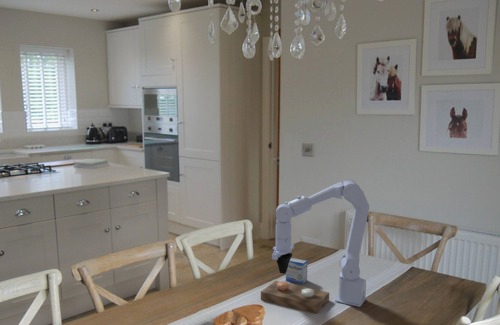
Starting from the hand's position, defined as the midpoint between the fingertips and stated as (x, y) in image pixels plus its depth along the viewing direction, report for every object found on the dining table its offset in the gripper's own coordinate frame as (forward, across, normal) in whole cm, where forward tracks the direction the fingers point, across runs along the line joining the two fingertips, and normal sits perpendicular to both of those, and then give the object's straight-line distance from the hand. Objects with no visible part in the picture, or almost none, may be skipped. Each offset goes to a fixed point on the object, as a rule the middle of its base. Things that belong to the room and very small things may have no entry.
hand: (283, 272), depth 162 cm
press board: (+9, 0, +5) cm, 11 cm away
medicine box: (+10, -17, -2) cm, 20 cm away
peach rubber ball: (+8, 0, 0) cm, 8 cm away
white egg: (+9, 0, +10) cm, 13 cm away
